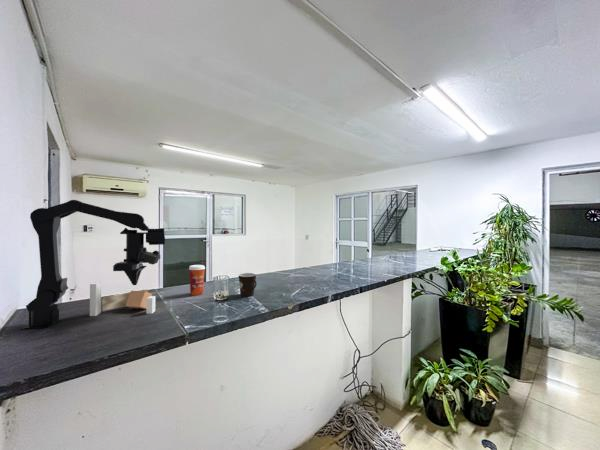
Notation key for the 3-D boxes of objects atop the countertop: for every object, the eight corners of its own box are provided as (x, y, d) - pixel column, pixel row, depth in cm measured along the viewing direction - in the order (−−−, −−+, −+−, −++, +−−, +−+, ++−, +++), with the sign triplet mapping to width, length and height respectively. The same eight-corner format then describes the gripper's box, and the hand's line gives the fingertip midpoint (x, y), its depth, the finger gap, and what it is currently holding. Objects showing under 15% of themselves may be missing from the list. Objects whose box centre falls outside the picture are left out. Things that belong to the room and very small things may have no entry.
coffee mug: (237, 292, 124) (238, 273, 124) (254, 291, 127) (255, 272, 127) (239, 299, 113) (239, 278, 113) (257, 298, 116) (258, 277, 116)
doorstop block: (125, 306, 96) (130, 290, 99) (133, 308, 100) (138, 293, 103) (139, 306, 95) (145, 291, 98) (147, 308, 100) (152, 294, 103)
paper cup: (193, 297, 116) (193, 267, 116) (185, 294, 121) (185, 265, 121) (208, 293, 122) (208, 265, 122) (199, 290, 127) (200, 264, 127)
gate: (102, 310, 93) (102, 297, 93) (102, 310, 94) (102, 297, 94) (148, 300, 106) (148, 289, 106) (147, 300, 107) (147, 289, 106)
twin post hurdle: (89, 316, 91) (90, 284, 91) (94, 313, 94) (95, 282, 94) (152, 313, 95) (152, 282, 95) (155, 310, 98) (155, 281, 98)
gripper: (146, 247, 88) (146, 290, 88) (166, 243, 106) (165, 279, 106) (112, 247, 86) (112, 291, 86) (138, 243, 104) (137, 279, 105)
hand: (134, 285), depth 96 cm, fingers closed
